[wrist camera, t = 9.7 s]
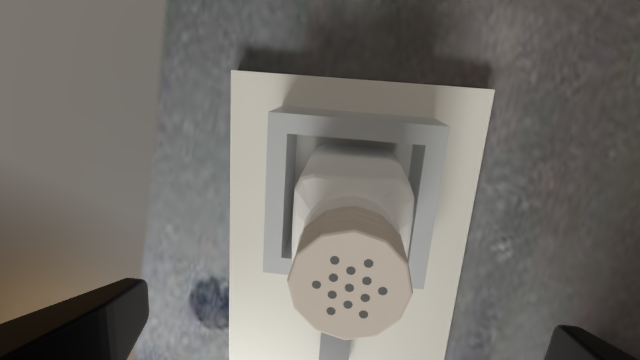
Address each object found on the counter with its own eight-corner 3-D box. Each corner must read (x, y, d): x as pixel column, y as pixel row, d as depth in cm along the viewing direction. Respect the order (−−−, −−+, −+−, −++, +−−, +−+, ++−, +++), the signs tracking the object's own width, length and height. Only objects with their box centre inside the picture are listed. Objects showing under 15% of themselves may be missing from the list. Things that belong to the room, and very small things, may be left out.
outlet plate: (430, 397, 23) (446, 462, 19) (233, 373, 24) (210, 430, 20) (487, 88, 18) (523, 93, 14) (237, 70, 19) (207, 69, 15)
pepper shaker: (309, 219, 20) (270, 346, 10) (313, 140, 18) (272, 207, 9) (388, 225, 19) (419, 362, 10) (397, 146, 18) (440, 220, 9)
